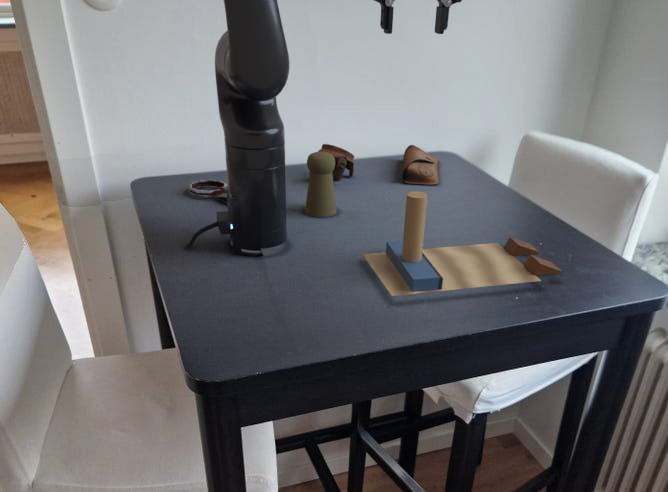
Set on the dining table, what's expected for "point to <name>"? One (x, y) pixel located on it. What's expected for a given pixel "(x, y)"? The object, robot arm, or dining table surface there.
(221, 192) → the keychain
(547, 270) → the block
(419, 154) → the sunglasses case
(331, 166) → the olive game pawn
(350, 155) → the brown piece
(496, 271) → the cutting board
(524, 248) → the block
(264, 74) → the robot arm
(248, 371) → the dining table surface
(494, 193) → the dining table surface
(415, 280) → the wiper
